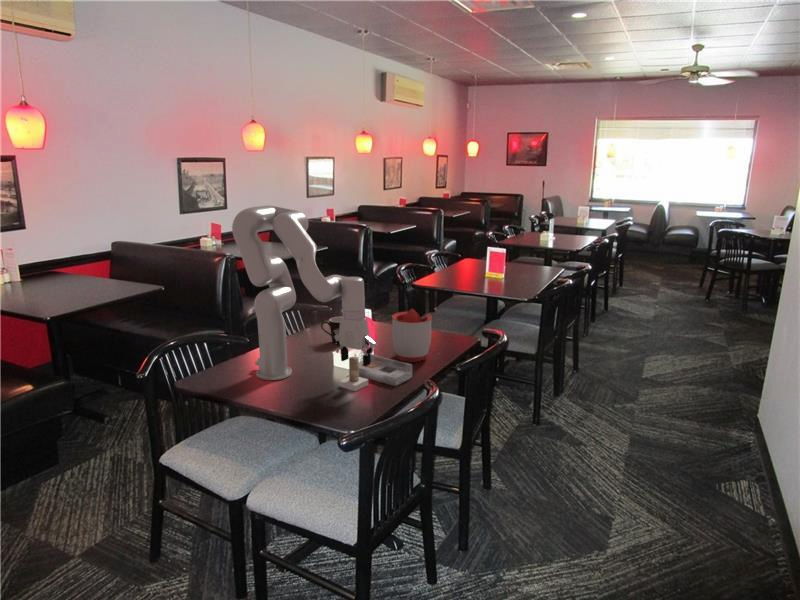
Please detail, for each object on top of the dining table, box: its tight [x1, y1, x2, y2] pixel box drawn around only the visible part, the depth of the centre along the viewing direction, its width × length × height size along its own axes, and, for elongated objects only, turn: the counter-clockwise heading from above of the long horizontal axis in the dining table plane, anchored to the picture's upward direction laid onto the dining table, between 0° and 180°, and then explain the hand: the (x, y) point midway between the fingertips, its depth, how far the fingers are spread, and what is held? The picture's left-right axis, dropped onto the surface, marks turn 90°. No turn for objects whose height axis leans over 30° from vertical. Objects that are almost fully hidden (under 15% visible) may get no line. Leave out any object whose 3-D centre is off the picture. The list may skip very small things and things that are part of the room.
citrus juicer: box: [391, 308, 433, 363], centre depth 219 cm, size 16×17×20 cm
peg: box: [348, 356, 360, 382], centre depth 192 cm, size 3×3×8 cm
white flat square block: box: [339, 376, 369, 392], centre depth 193 cm, size 7×7×2 cm
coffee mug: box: [320, 316, 342, 344], centre depth 239 cm, size 12×9×10 cm
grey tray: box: [359, 353, 413, 387], centre depth 202 cm, size 20×10×5 cm, turn 55°
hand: (355, 362), depth 191 cm, fingers open, 9 cm apart
